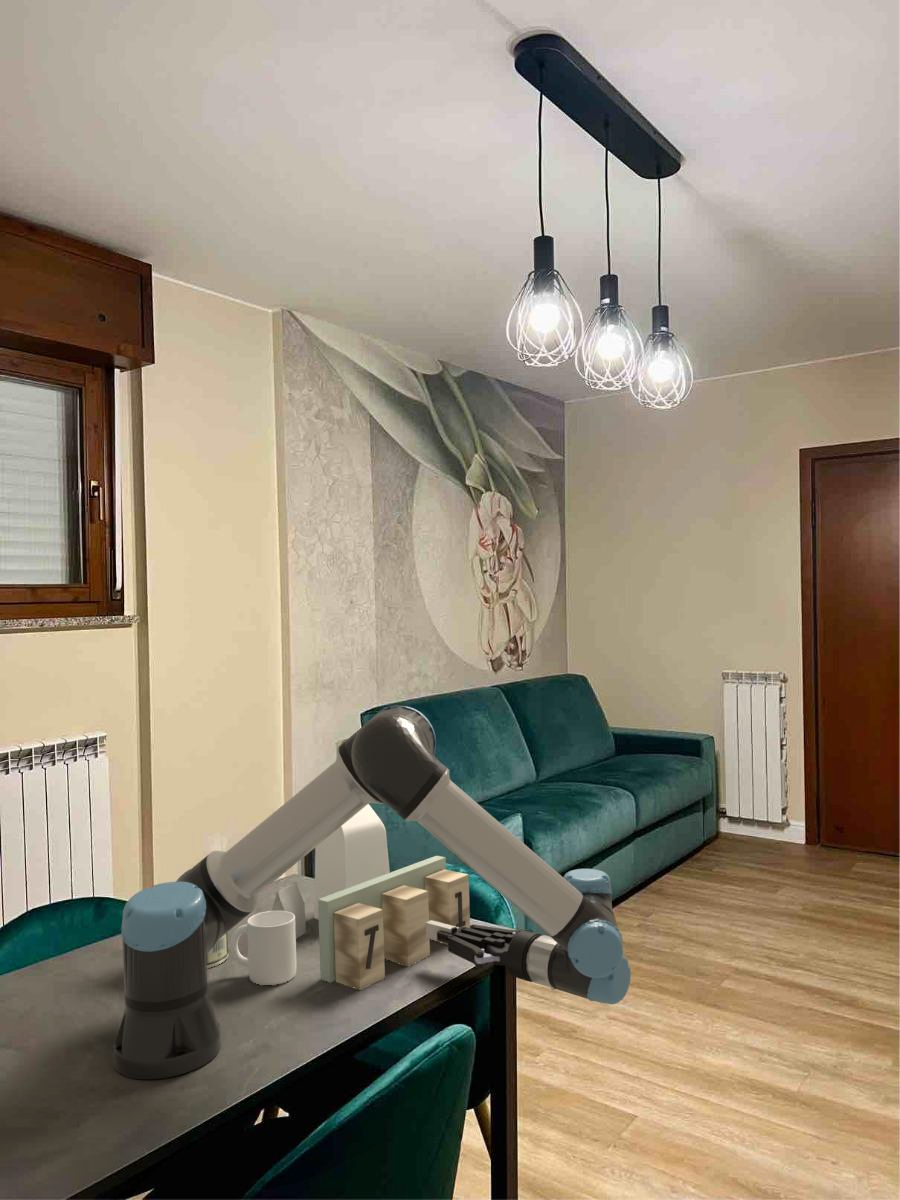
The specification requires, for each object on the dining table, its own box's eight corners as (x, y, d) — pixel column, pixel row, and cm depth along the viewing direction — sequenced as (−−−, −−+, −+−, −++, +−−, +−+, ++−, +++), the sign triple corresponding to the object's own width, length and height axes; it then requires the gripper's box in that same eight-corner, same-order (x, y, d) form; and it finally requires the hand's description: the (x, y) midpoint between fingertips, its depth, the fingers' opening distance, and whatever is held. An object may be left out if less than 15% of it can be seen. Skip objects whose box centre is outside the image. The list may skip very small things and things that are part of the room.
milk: (346, 931, 180) (342, 801, 180) (314, 918, 189) (310, 793, 189) (393, 916, 188) (389, 791, 188) (360, 903, 197) (356, 784, 197)
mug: (221, 984, 157) (219, 924, 157) (242, 965, 165) (240, 908, 165) (285, 988, 155) (283, 928, 155) (303, 968, 163) (302, 911, 163)
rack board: (447, 927, 181) (445, 857, 181) (330, 982, 156) (327, 901, 156) (438, 925, 182) (436, 855, 182) (320, 979, 158) (318, 899, 158)
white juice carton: (305, 932, 181) (303, 882, 181) (287, 945, 174) (285, 893, 174) (289, 930, 182) (287, 881, 182) (271, 943, 176) (269, 891, 176)
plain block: (430, 956, 167) (428, 890, 167) (408, 966, 162) (406, 899, 162) (405, 948, 170) (403, 885, 170) (383, 959, 166) (381, 893, 166)
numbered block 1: (471, 936, 176) (469, 874, 176) (451, 946, 171) (449, 882, 171) (446, 929, 180) (444, 869, 180) (426, 939, 175) (425, 877, 175)
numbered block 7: (386, 978, 157) (383, 909, 157) (361, 990, 153) (359, 919, 153) (360, 970, 161) (358, 902, 161) (335, 981, 157) (333, 912, 157)
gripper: (515, 995, 143) (405, 961, 158) (560, 968, 153) (452, 938, 168) (514, 948, 143) (403, 918, 158) (558, 923, 153) (451, 898, 168)
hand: (428, 928), depth 163 cm, fingers closed
